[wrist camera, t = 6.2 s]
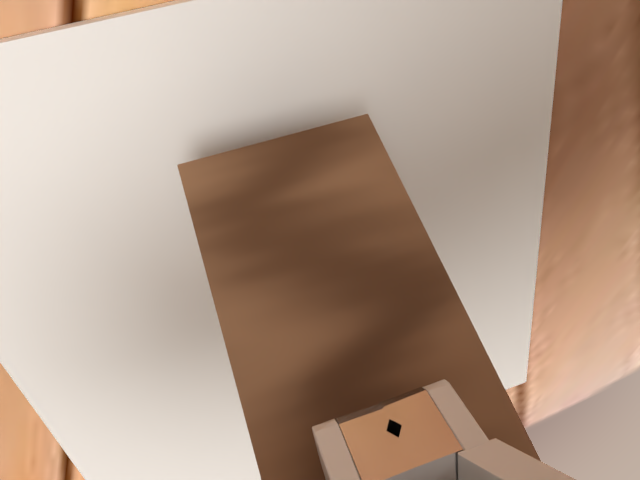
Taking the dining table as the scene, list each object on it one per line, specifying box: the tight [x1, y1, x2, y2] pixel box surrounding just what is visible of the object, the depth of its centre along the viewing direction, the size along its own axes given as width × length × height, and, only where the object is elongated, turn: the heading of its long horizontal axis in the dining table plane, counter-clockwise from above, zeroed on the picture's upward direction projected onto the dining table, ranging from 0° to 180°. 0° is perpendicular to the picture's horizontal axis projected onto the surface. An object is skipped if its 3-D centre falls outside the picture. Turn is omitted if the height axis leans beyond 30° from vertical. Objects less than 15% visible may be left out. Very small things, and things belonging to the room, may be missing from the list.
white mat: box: [0, 0, 563, 480], centre depth 23 cm, size 24×24×1 cm
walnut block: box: [177, 114, 541, 480], centre depth 16 cm, size 6×6×14 cm
